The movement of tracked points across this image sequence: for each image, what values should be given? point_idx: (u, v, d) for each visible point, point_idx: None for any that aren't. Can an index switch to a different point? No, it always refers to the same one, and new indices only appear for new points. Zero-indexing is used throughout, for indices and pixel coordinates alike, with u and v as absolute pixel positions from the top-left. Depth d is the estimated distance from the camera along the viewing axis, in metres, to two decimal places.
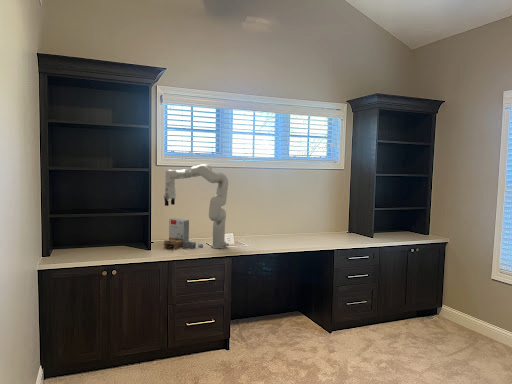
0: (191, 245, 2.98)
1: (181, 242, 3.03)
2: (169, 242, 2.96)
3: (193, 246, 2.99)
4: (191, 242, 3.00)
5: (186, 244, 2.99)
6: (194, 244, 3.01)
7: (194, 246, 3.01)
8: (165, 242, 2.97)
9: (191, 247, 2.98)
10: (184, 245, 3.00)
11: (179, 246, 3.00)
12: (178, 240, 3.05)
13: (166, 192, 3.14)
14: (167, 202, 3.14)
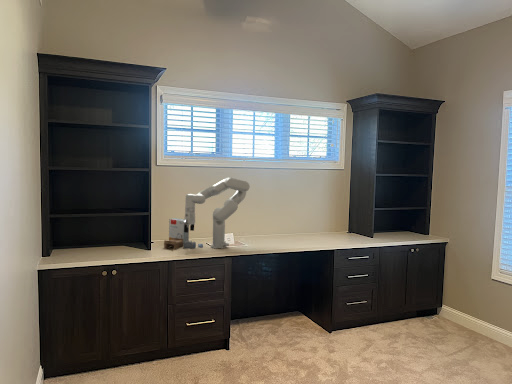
0: (191, 245, 2.98)
1: (181, 242, 3.03)
2: (169, 242, 2.96)
3: (193, 246, 2.99)
4: (191, 242, 3.00)
5: (186, 244, 2.99)
6: (194, 244, 3.01)
7: (194, 246, 3.01)
8: (165, 242, 2.97)
9: (191, 247, 2.98)
10: (184, 245, 3.00)
11: (179, 246, 3.00)
12: (178, 240, 3.05)
13: (186, 218, 2.95)
14: (187, 229, 2.95)
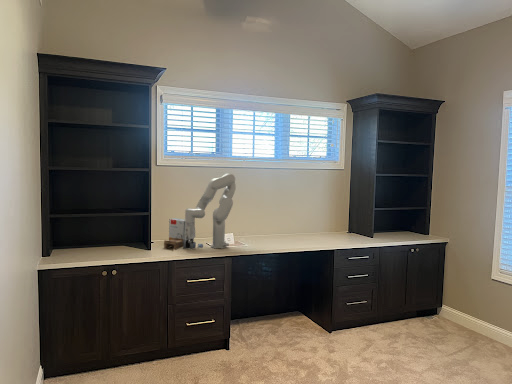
0: (191, 245, 2.98)
1: (181, 242, 3.03)
2: (169, 242, 2.96)
3: (193, 246, 2.99)
4: (191, 242, 3.00)
5: None
6: (194, 244, 3.01)
7: (194, 246, 3.01)
8: (165, 242, 2.97)
9: (191, 247, 2.98)
10: (184, 245, 3.00)
11: (179, 246, 3.00)
12: (178, 240, 3.05)
13: (186, 233, 2.96)
14: (188, 244, 2.98)
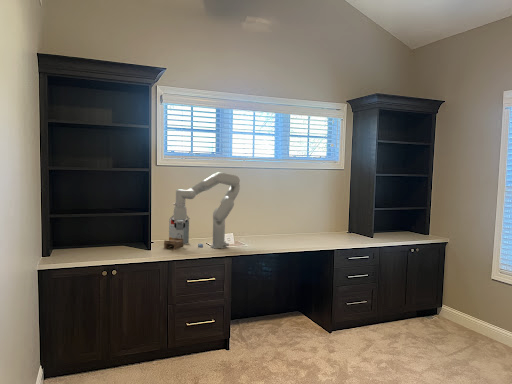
0: (176, 225, 2.97)
1: (181, 242, 3.03)
2: (169, 242, 2.96)
3: (178, 227, 2.96)
4: (179, 223, 2.98)
5: (176, 224, 3.01)
6: (180, 225, 2.96)
7: (180, 227, 2.97)
8: (165, 242, 2.97)
9: (176, 227, 2.97)
10: None
11: (179, 246, 3.00)
12: (178, 240, 3.05)
13: None
14: (175, 224, 2.99)
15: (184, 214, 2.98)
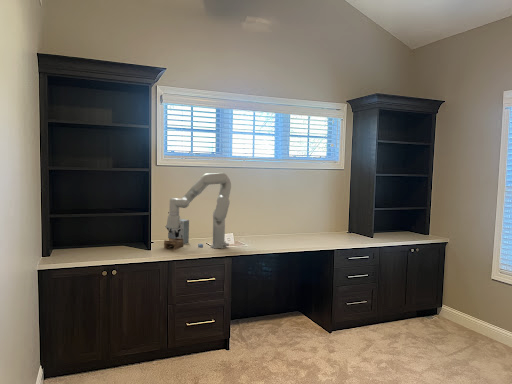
0: None
1: (181, 242, 3.03)
2: (169, 242, 2.96)
3: (169, 235, 2.98)
4: (172, 231, 3.00)
5: None
6: (171, 234, 2.97)
7: (171, 236, 2.97)
8: (165, 242, 2.97)
9: None
10: None
11: (179, 246, 3.00)
12: (178, 240, 3.05)
13: None
14: None
15: (176, 223, 2.97)
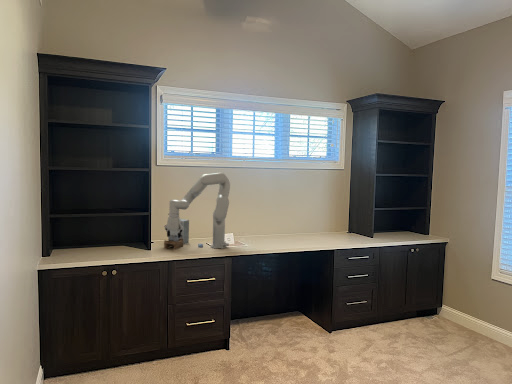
0: None
1: (181, 242, 3.03)
2: (169, 242, 2.96)
3: (170, 239, 2.98)
4: (172, 235, 3.00)
5: None
6: (171, 237, 2.98)
7: (171, 239, 2.98)
8: (165, 242, 2.97)
9: None
10: None
11: (179, 246, 3.00)
12: None
13: None
14: None
15: (176, 225, 2.97)
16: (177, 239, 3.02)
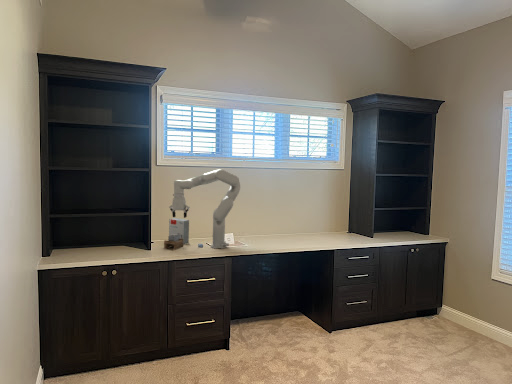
0: None
1: (181, 242, 3.03)
2: (169, 242, 2.96)
3: (170, 239, 2.98)
4: (172, 235, 3.00)
5: None
6: (171, 237, 2.98)
7: (171, 239, 2.98)
8: (165, 242, 2.97)
9: None
10: None
11: (179, 246, 3.00)
12: None
13: None
14: (173, 213, 3.03)
15: (181, 204, 2.98)
16: (177, 239, 3.02)
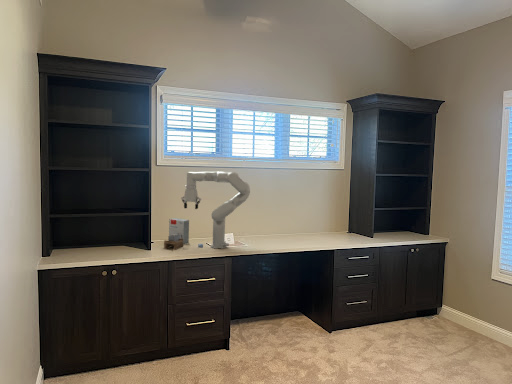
0: None
1: (181, 242, 3.03)
2: (169, 242, 2.96)
3: (170, 239, 2.98)
4: (172, 235, 3.00)
5: None
6: (171, 237, 2.98)
7: (171, 239, 2.98)
8: (165, 242, 2.97)
9: None
10: None
11: (179, 246, 3.00)
12: None
13: None
14: None
15: (193, 196, 3.03)
16: (177, 239, 3.02)
